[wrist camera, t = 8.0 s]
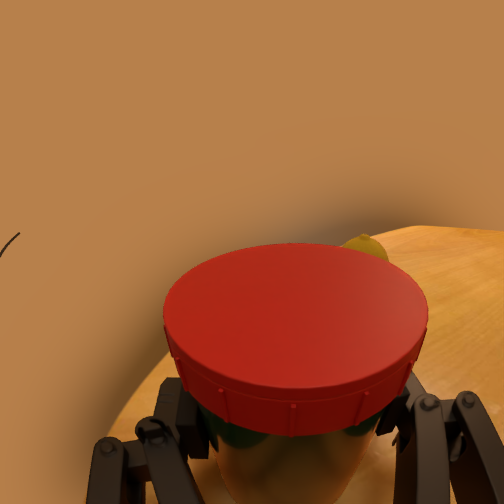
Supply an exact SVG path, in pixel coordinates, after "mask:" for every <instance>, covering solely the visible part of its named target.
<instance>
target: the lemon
mask: <svg viewBox="0 0 504 504" xmlns="http://www.w3.org/2000/svg"><path fill="white" fill-rule="evenodd" d="M342 247H343V248H349V249H353V250H357V251H361V252H364V253H367V254H370V255H373V256H376V257H378V258H381V259H383V260H385V261H387V262H389V260H388V256H387V253H386V251H385V249H384V248H383V247H382V245H381V244H380V243H379V242H377V241H376V240H374V239H372V238H370V237H369V235H368V234H361V235H360V236H359V237H356V238H353V239H351V240H349V241H348V242H346V243H345V244H344V245H343V246H342Z"/></svg>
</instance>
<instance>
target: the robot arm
mask: <svg viewBox="0 0 504 504" xmlns="http://www.w3.org/2000/svg"><path fill="white" fill-rule="evenodd" d="M19 234H20V233H17V234H16V235H15V236H14V237H13V238H12V239H11V240H10V241H9V242H8V243H7V244H6V245H5V247H4V248H3V249H2V251H1V252H0V257H1V255H2V253H3V252H4V250H5V249H6V247H7V246H8V245H9V244H10V243H11V242H12V241H13V240H14V239H15V238H16V237H17V236H18V235H19ZM395 426H397V428H398V430H399V432H398V433H397V435H396V437H395V439H394V440H393V442H392V446H394V445H395V443H396V472H395V487H394V499H393V504H450V482H451V485H452V488H453V492H454V495H455V498H456V502H457V504H504V446H503V444H502V441H501V439H500V437H499V435H498V433H497V431H496V429H495V427H494V425H493V423H492V421H491V419H490V417H489V415H488V413H487V412H486V410H485V408H484V406H483V404H482V402H481V401H480V399H479V397H478V396H477V395H476V394H475V393H473V392H471V391H462V392H461V393H459V394H458V395H457V397H456V399H450V400H439V399H438V398H437V397H436V396H435V395H433V394H428V393H426V391H425V390H424V388H423V387H422V385H421V383H420V382H419V380H418V379H417V377H416V376H415V374H414V373H413V372H412V371H411V374H410V376H409V378H408V380H407V382H406V384H405V387H404V389H403V392H402V394H401V395H400V396H399V395H397V396H396V397H395V398H394V399H393V400H392V401H391V402H390V403H389V404H388V405H387V407H386V410H385V412H384V414H383V417H382V419H381V421H380V423H379V426H378V428H377V430H376V434H377V436H380V435H383V434H387V433H390V432H392V431H393V429H394V427H395ZM135 434H136V435H137V437H138V439H137V440H133V441H127V442H121V441H120V440H118V439H117V438H115V437H104V438H102V439H100V440H99V441H98V442H97V443H96V444H95V446H94V450H93V456H92V462H91V469H90V475H89V482H88V490H87V498H86V504H146V482H148V481H152V484H153V487H154V490H155V493H156V497H157V500H158V503H159V504H205V502H204V500H203V498H202V496H201V493H200V491H199V489H198V486H197V484H196V482H195V479H194V477H193V474H192V472H191V469H190V467H189V465H188V463H187V460H188V454H189V456H190V458H191V459H208V456H209V438H208V435H207V432H206V429H205V426H204V422H203V419H202V416H201V413H200V409H199V406H198V403H197V400H196V399H195V398H194V397H193V396H192V395H191V393H190V392H189V391H187V392H186V391H185V390H184V387H183V384H182V381H181V378H171V377H167V378H166V379H165V380H164V382H163V383H162V384H161V385H160V390H159V396H158V398H157V403H156V406H155V411H154V415H153V416H148V417H146V418H143V419H142V420H140V421H139V422H138V423H137V425H136V427H135Z"/></svg>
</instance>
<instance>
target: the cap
mask: <svg viewBox="0 0 504 504" xmlns="http://www.w3.org/2000/svg"><path fill="white" fill-rule="evenodd" d="M163 318H164V323H165V325H164V331H165V334H166V338H167V342H168V346H169V349H170V353H171V356H172V358H173V357H174V361H175V364H176V368H177V371H178V374H179V376H180V378H181V381H182V384H183V387H184V390H185V391H186V392H187V391H189V392H190V393H191V395H192V396H193V397H194V398H195V399H196V400H197V401H198V402H199V403H201V404H202V405H203V406H204V407H205V408H206V409H208V410H209V411H211V412H212V413H214V414H216V415H217V416H219V417H220V418H222V419H224V422H226V423H229V422H231V423H233V424H235V425H237V426H240V427H243V428H247V429H250V430H253V431H257V432H262V433H268V434H274V435H283V436H289V437H294V436H307V435H316V434H324V433H328V432H333V431H337V430H340V429H344V428H347V427H350V426H352V425H355V426H357V425H359V423H360V422H362V421H364V420H366V419H367V418H369V417H371V416H372V415H374V414H376V413H377V412H379V411H380V410H382V409H383V408H384V407H385V406H387V405H388V404H389V403H390V402H391V401H392V400H393V399H394V398H395V397H396V396H397V395H399V396H400V395H401V394H402V392H403V389H404V387H405V384H406V382H407V380H408V378H409V376H410V374H411V371H412V368H413V366H414V363H415V361H417V359H418V356H419V353H420V350H421V347H422V344H423V341H424V338H425V335H426V332H427V327H426V326H427V322H428V306H427V301H426V298H425V296H424V294H423V291H422V290H421V288H420V287H419V286H418V284H417V283H416V282H415V281H414V280H413V279H412V278H411V277H410V276H409V275H408V274H407V273H405V272H404V271H403V270H401V269H400V268H398V267H397V266H395V265H393V264H391V263H389V262H387V261H385V260H383V259H381V258H378V257H376V256H373V255H370V254H367V253H364V252H361V251H357V250H353V249H349V248H343V247H338V246H331V245H322V244H307V243H287V244H273V245H264V246H256V247H251V248H245V249H241V250H237V251H233V252H230V253H226V254H223V255H220V256H217V257H215V258H212V259H210V260H208V261H206V262H203V263H201V264H199V265H198V266H196V267H194V268H193V269H191V270H190V271H188V272H187V273H185V274H184V275H183V276H182V277H181V278H180V279H179V280H178V281H176V283H175V284H174V285H173V286H172V288H171V289H170V291H169V293H168V295H167V296H166V299H165V303H164V307H163Z"/></svg>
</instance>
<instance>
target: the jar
mask: <svg viewBox="0 0 504 504" xmlns="http://www.w3.org/2000/svg"><path fill="white" fill-rule="evenodd" d="M197 403H198V406H199V409H200V413H201V416H202V419H203V422H204V426H205V429H206V432H207V435H208V438H209V441H210V444H211V447H212V450H213V453H214V456H215V459H216V461H217V464H218V467H219V470H220V472H221V475H222V478H223V480H224V483H225V486H226V488H227V490H228V492H229V494H230V495H231V497H232V498H233V500H234V501H235V502H236V503H237V504H334V503H335V502H336V501H337V500H338V498H339V497H340V496H341V495H342V493H343V492H344V490H345V488H346V487H347V485H348V483H349V482H350V480H351V478H352V476H353V475H354V473H355V471H356V469H357V468H358V466H359V464H360V462H361V460H362V458H363V456H364V454H365V452H366V451H367V449H368V447H369V445H370V442H371V440H372V438H373V436H374V434H375V432H376V430H377V428H378V426H379V423H380V421H381V419H382V417H383V414H384V412H385V410H386V407H387V406H385V407H384V408H383V409H382V410H380V411H379V412H377V413H376V414H374V415H372V416H371V417H369V418H367V419H366V420H364V421H362V422H360V423H359V425H357V426H355V425H352V426H350V427H347V428H344V429H340V430H337V431H333V432H328V433H324V434H316V435H307V436H294V437H289V436H283V435H274V434H268V433H262V432H257V431H253V430H250V429H247V428H243V427H240V426H237V425H235V424H233V423H231V422H229V423H226V422H224V419H222V418H220V417H219V416H217V415H216V414H214V413H212V412H211V411H209V410H208V409H206V408H205V407H204V406H203V405H202V404H201V403H199V402H198V401H197Z"/></svg>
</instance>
